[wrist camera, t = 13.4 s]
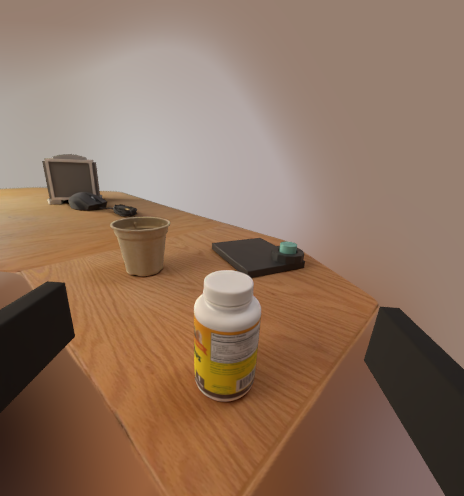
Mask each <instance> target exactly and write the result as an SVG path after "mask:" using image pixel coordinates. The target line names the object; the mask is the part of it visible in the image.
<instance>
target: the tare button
mask: <svg viewBox="0 0 464 496" xmlns="http://www.w3.org/2000/svg"><path fill="white" fill-rule="evenodd" d="M296 250H297V244H295V243H292V242H281V243H280V252H281V253H285V254H296Z"/></svg>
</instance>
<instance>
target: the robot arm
mask: <svg viewBox="0 0 464 496" xmlns="http://www.w3.org/2000/svg"><path fill="white" fill-rule="evenodd" d="M74 337H75V334H74V329H73V323H72V318H71V313H70V308H69V302H68V297H67V292H66V287H65V283H60V282H45V283H44V284H42V285H41V286H39V287H37V288H36V289H34V290H32V291H31V292H29V293H27V294H26V295H24V296H22V297H21V298H19V299H17V300H16V301H14V302H12V303H11V304H9V305H7V306H6V307H4V308H2V309H1V310H0V413H1V412H2V411H3V410H4V408H6V407H7V406H8V404H10V402H11V401H12V400H13V399H14V398H15V397H16V396H17V395H18V394H19V393H20V392H21V391H22V390H23V389H24V388H25V387H26V386H27V385H28V384H29V383H30V382H31V381H32V380H33V379H34V378H35V377H36V376H37V375H38V374H39V373H40V372H41V370H43V369H44V368H45V367H46V366H47V364H49V362H51V361H52V360H53V358H54V357H55V356H56V355H57V354H58V353H59V352H60V351H61V350H62V349H63V348H64V347H65V346H66V345H67V344H68V343H69V342H70V341H71V340H72V339H73V338H74ZM364 361H365V363H366V364H367V366H368V368H369V369H370V371H371V373H372V374H373V376H374V378H375V379H376V381H377V383H378V384H379V386H380V388H381V389H382V391H383V393H384V394H385V396H386V397H387V399H388V401H389V403H390V404H391V406H392V407H393V409H394V411H395V413H396V414H397V416H398V418H399V419H400V421H401V423H402V424H403V426H404V428H405V429H406V431H407V432H408V434H409V436H410V438H411V439H412V441H413V442H414V444H415V446H416V447H417V449H418V451H419V452H420V454H421V456H422V458H423V459H424V461H425V462H426V464H427V466H428V467H429V469H430V471H431V472H432V474H433V476H434V478H435V479H436V481H437V483H438V484H439V486H440V487H441V489H442V491H443V493H444V494H445V496H464V369H463V368H462V367H461V366H460V365H459V364H457V363H456V362H455V361H454V360H453V359H452V358H451V357H450V356H449V355H448V354H447V353H446V352H445V351H444V350H443V349H442V348H441V347H440V346H438V345H437V344H436V343H435V342H434V341H433V340H432V339H431V338H430V337H429V336H428V335H427V334H426V333H425V332H424V331H423V330H422V329H420V328H419V327H418V326H417V325H416V324H415V323H414V322H413V321H412V320H411V319H410V318H409V317H408V316H407V315H406V314H405V313H404V312H403V311H402V310H400V309H399V308H390V307H380V308H379V312H378V315H377V318H376V322H375V325H374V329H373V332H372V336H371V339H370V342H369V346H368V349H367V352H366V355H365V359H364Z"/></svg>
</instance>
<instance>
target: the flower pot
mask: <svg viewBox="0 0 464 496" xmlns="http://www.w3.org/2000/svg"><path fill="white" fill-rule="evenodd" d="M169 225H170V221H169V220H167V219H163V218H157V217H132V218H125V219H120V220H116V221H114V222H112V223H111V224H110V226H111V228H112V229H114V233H115V235H116V236H117V238H118V242H119V245H120V249H121V252H122V256H123V260H124V263H125V267H126V271H127V273H128V274H130V275H138V276H149V275H153V274H156V273H158V272H159V271H160V270H161V269H163V262H164V250H165V240H166V233H167V232H168V226H169Z"/></svg>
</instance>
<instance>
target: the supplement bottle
mask: <svg viewBox="0 0 464 496" xmlns="http://www.w3.org/2000/svg"><path fill="white" fill-rule="evenodd" d="M253 285H254V284H253V280H252V278H251V277H249V276H248V275H246V274H244V273H241V272H238V271H231V270H223V271H216V272H213V273H211V274H209V275H207V276H206V278H205V280H204V290H203V294H202V295H201V296H200V297H199V298H198V299H197V300H196V302H195V306H194V366H195V380H196V383H197V386H198V387H199V389H200V390H201V392H202V393H203V394H205V395H206V396H207V397H209V398H211V399H213V400H216V401H223V402H227V401H233V400H236V399H239V398H241V397H242V396H244V395H245V394H246V393H247V392H248V391H249V390H250V388H251V386H252V384H253V381H254V376H255V368H256V359H257V349H258V340H259V330H260V320H261V306H260V303H259V302H258V300H257V299H256V298H255V297H254V296H253Z"/></svg>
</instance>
